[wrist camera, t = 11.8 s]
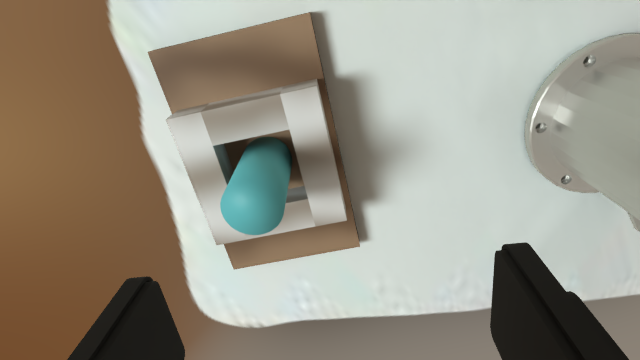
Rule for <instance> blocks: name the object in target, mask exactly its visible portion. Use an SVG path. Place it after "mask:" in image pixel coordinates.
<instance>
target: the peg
mask: <svg viewBox="0 0 640 360" xmlns="http://www.w3.org/2000/svg"><path fill="white" fill-rule="evenodd" d="M291 168H292V155H291V152H290V150H289V148H288V147H287V146H286V145H285V144H284V143H283V142H282V141H280V140H278V139H276V138H273V137H260V138H257V139H255V140H253V141H251V142H250V143H249V144H248V145H247V147H246V149H245V151H244V153H243V155H242V157H241V159H240V161H239V163H238V165H237V167H236V169H235V171H234V173H233V175H232V177H231V179H230V181H229V183H228V185H227V187H226V189H225V191H224V193H223V195H222V198H221V202H220V208H221V213H222V215H223V218H224V219H225V221H226V222H227V223H228V224H229V225H230V226H231V227H232V228H233V229H235V230H237V231H239V232H241V233H244V234H248V235H261V234H265V233H268V232H270V231H272V230H273V229H275V228H276V227H277V226H278V225H279V224H280V222H281V220H282V218H283V215H284V210H285V204H286V198H287V192H288V186H289V180H290V174H291Z"/></svg>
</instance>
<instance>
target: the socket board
mask: <svg viewBox="0 0 640 360" xmlns="http://www.w3.org/2000/svg"><path fill="white" fill-rule="evenodd" d="M148 54H149V57H150V59H151V62H152V64H153V67H154V69H155V72H156V75H157V77H158V80H159V82H160V85H161V87H162V90H163V92H164V95H165V97H166V100H167V102H168V105H169V107H170V110H171V112H172V115H171V116H170V117H169V118H167V119H166V122H167V124H168V127H169V129H170V132H171V134H172V137H173V139H174V141H175V144H176V146H177V149H178V151H179V154H180V156H181V159H182V161H183V164H184V166H185V168H186V171H187V173H188V176H189V178H190V181H191V183H192V186H193V188H194V191H195V193H196V195H197V198H198V200H199V203H200V205H201V208H202V210H203V213H204V215H205V218H206V220H207V222H208V225H209V227H210V230H211V232H212V235H213V237H214V240H215V242H216V245H220V244H224V246H225V248H226V251H227V253H228V256H229V258H230V261H231V263H232V266H233V268H234V269H239V268H244V267H250V266H255V265H261V264H266V263H272V262H277V261H283V260H288V259H294V258H299V257H305V256H310V255H316V254H321V253H327V252H332V251H338V250H343V249H349V248H354V247H360V244H359V238H358V233H357V229H356V224H355V219H354V215H353V210H352V205H351V201H350V196H349V191H348V187H347V182H346V177H345V173H344V168H343V164H342V159H341V154H340V150H339V145H338V140H337V136H336V131H335V126H334V122H333V117H332V112H331V108H330V103H329V98H328V94H327V89H326V84H325V80H324V75H323V70H322V66H321V61H320V56H319V52H318V47H317V42H316V38H315V33H314V28H313V24H312V19H311V14H310V12H309V13H305V14H301V15H297V16H292V17H288V18H284V19H280V20H276V21H272V22H268V23H264V24H259V25H255V26H251V27H247V28H243V29H239V30H235V31H231V32H227V33H222V34H218V35H214V36H210V37H206V38H202V39H198V40H194V41H189V42H185V43H181V44H177V45H173V46H169V47H165V48H161V49H157V50H153V51H150V52H148ZM260 137H273V138H276V139H278V140H280V141H282V142H283V143H284V144H285V145H286V146H287V147H288V148H289V150H290V152H291V155H292V168H291V174H290V180H289V186H288V192H287V198H286V204H285V210H284V215H283V218H282V220H281V222H280V224H279V225H278V226H277V227H276V228H275V229H273V230H272V231H270V232H268V233H265V234H261V235H248V234H244V233H241V232H239V231H237V230H235V229H233V228H232V227H231V226H230V225H229V224H228V223H227V222H226V221H225V219H224V218H223V215H222V213H221V208H220V202H221V198H222V195H223V193H224V191H225V189H226V187H227V185H228V183H229V181H230V179H231V177H232V175H233V173H234V171H235V169H236V167H237V165H238V163H239V161H240V159H241V157H242V155H243V153H244V151H245V149H246V147H247V145H248V144H249V143H250V142H251V141H253V140H255V139H257V138H260Z"/></svg>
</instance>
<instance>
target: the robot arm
mask: <svg viewBox="0 0 640 360" xmlns="http://www.w3.org/2000/svg"><path fill="white" fill-rule="evenodd" d="M584 59H585V60H584ZM537 124H538V125H537ZM536 125H537V126H536ZM524 136H525V144H526V150H527V153H528V155H529V158H530V161H531V162H532V163H533V165H534V166H535V168H536V169H537V171H539V172H540V173H541V174H542V175H543V176H544V177H545V178H546V179H548V180H549V181H551V182H552V183H553V184H555V185H556V186H559V187H561V188H564V189H566V190H569V191H575V192H581V193H597V192H600V193H602V194H603V195H605V196H606V197H607V198H609V199H610V200H612V201H613V202H615V203H616V204H617V205H619V206H620V207H622V208H623V209H624V210H626V211H627V212H628V215H629V217H630V219H631V221H632V224H633V226H634V228H635V229H636V230H638V231H640V34H621V35H616V36H611V37H607V38H604V39H601V40H599V41H596V42H593V43H591V44H589V45H587V46H585V47H584V48H582V49H580V50H578V51H577V52H575V53H573V54H572V55H571V56H570V57H568V58H567V59H566V60H565V61H563V62H562V63H561V64H560V65H559V66H558V67H557V68H556V69H555V70H554V71H553V72H552V73H551V74H550V75H549V76H548V77H547V78H546V80H545V81H544V83H543V84H542V86H541V87H540V88H539V90H538V91H537V93H536V95H535V97H534V99H533V101H532V103H531V106H530V108H529V112H528V115H527V119H526V124H525V135H524ZM490 325H491V326H490V328H491V334H492V337H493V340H494V342H495V345H496V347H497V349H498V351H499V353H500V356H501V358H502V360H629V359H628V358H627V356H626V355H625V354H624V353H623V352H622V350H621V349H620V348H619V347H618V345H617V344H616V343H615V341H614V340H613V339H612V338H611V336H610V335H609V334H608V333H607V332H606V331H605V329H604V328H603V327H602V325H601V324H600V323H599V322H598V320H597V319H596V318H595V317H594V315H593V314H592V313H591V312H590V310H589V309H588V308H587V307H586V305H585V304H584V303H583V302H582V300H581V299H580V298H579V297H578V296H577V295H576V294H575V293H573V292H571V291H569V292H566V291H565V290H564V288H563V287H562V286H561V285H560V283H559V282H558V281H557V279H556V278H555V277H554V276H553V274H552V273H551V272H550V270H549V269H548V268H547V267H546V265H545V264H544V263H543V261H542V260H541V259H540V258H539V256H538V255H537V254H536V252H535V251H534V250H533V248H532V247H531V246H530V245H529V244H528V243H515V244H504V245H503V246H502V250H500V251H496V253H495V262H494V277H493V293H492V308H491V324H490ZM184 357H185V349H184V346H183V343H182V341H181V338H180V336H179V333H178V331H177V328H176V326H175V323H174V321H173V318H172V316H171V313H170V311H169V308H168V306H167V303H166V301H165V298H164V296H163V293H162V291H161V288H160V286H159V284H158V282H156V281H153V280H152V278H151V277H137V278H129V279H127V280H126V281H125V282H124V283H123V285H122V286H121V288H120V289H119V290H118V292H117V293H116V294H115V296H114V297H113V298H112V300H111V301H110V303H109V304H108V305H107V307H106V308H105V309H104V311H103V312H102V313H101V315H100V316H99V317H98V319H97V320H96V321H95V323H94V324H93V325H92V327H91V328H90V330H89V331H88V332H87V334H86V335H85V337H84V338H83V339H82V340H81V342H80V343H79V344H78V346H77V347H76V348H75V350H74V351H73V353H72V354H71V355H70V357H69V358H68V360H184Z"/></svg>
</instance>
